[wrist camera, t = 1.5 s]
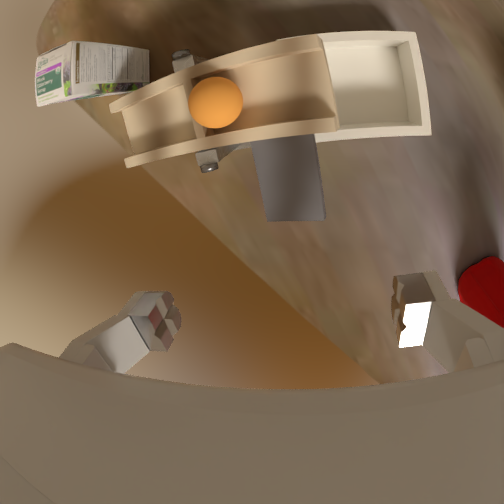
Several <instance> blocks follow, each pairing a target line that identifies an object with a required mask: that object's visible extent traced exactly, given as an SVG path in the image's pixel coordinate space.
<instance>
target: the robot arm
mask: <svg viewBox="0 0 504 504" xmlns="http://www.w3.org/2000/svg"><path fill="white" fill-rule="evenodd" d="M393 289H394V295H393V296H392V299H391V314H392V320H393V324H395V325H396V326H397V327H396V336H397V341H398V345H399V347H407V346H415V345H422V346H423V347H424V348H425V349H426V350H427V351H428V352H429V353H430V354H431V355H432V356H433V357H434V358H435V359H436V360H437V361H438V362H439V363H440V364H441V365H442V366H443V367H444V368H445V369H446V370H447V371H448V372H449V373H448V374H443V375H438V376H433V377H427V378H422V379H416V380H409V381H403V382H395V383H388V384H379V385H371V386H359V387H346V388H330V389H299V390H298V389H295V390H293V389H292V390H291V389H289V390H285V389H284V390H283V389H281V390H280V389H246V388H228V387H215V386H204V385H195V384H186V383H178V382H171V381H164V380H157V379H151V378H144V377H139V376H133V375H128V374H124V373H125V372H126V371H128V370H129V369H130V368H131V367H132V366H133V365H134V364H136V363H137V362H138V361H139V360H140V359H141V358H143V357H144V356H145V355H146V354H147V353H149V351H165V352H167V351H168V349H169V347H170V346H171V344H172V342H173V340H174V339H173V335H174V334H175V333H177V332H178V330H179V329H180V327H181V314H180V312H179V309H178V308H177V307H175V306H174V305H173V302H174V298H173V296H172V294H171V293H170V292H168V291H140V292H135V293H134V295H133V296H132V297H131V298H130V300H129V301H128V302H127V303H126V305H125V306H124V307H123V308H122V310H121V311H120V312H119V314H118V315H117V316H116V315H114V316H112V317H111V318H109V319H108V320H106V321H104V322H102V323H101V324H99V325H97V326H96V327H94V328H92V329H91V330H89V331H87V332H85V333H84V334H82V335H80V336H79V337H77V338H76V339H74V340H72V341H71V343H70V344H69V345H68V346H67V348H66V349H65V350H64V352H63V353H62V354H61V356H60V357H59V358H58V357H54V356H51V355H48V354H44V353H42V352H39V351H35V350H32V349H30V348H27V347H23V346H21V345H19V344H16V343H9V344H7V345H5V346H3V347H0V504H504V328H502V327H500V326H499V325H497V324H496V323H494V322H493V321H491V320H489V319H488V318H486V317H485V316H483V315H481V314H480V313H478V312H476V311H475V310H473V309H472V308H470V307H468V306H467V305H465V304H463V303H462V302H460V301H458V300H457V299H451V298H450V296H449V294H448V292H447V290H446V288H445V286H444V285H443V283H442V281H441V279H440V277H439V276H438V274H437V272H436V271H434V270H432V271H426V272H421V273H414V274H406V275H398V276H394V278H393Z"/></svg>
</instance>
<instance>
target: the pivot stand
mask: <svg viewBox="0 0 504 504" xmlns="http://www.w3.org/2000/svg"><path fill="white" fill-rule="evenodd" d="M172 58H173V61H172V64H173V68H174V72H175V73H176V72H178V71H181V70H183V69H186V68H188V67H191V66H194V65H196V64H199V63H202V62H205V61H208V60H210V59H206V58H203V57H199V56H196V55H190V50H189V49H185V50H180V51H177V52H174V53H173V54H172ZM248 147H251V143H250V142H244V143H238V144H232V145H227V146H221V147H216V148H210V149H205V150H201V151H199V152H197V153H196V158H197V162H198V166H200V168H201V172H202V173H205V172H210V171H213V170H216V169H218V164H217V162H219V161H220V160H221V159H223V158H224V157H225V156H227V155H228V154H229V153H231V152H232V151H233V150H238V149H243V148H248Z"/></svg>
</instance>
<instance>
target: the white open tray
mask: <svg viewBox="0 0 504 504" xmlns="http://www.w3.org/2000/svg"><path fill="white" fill-rule="evenodd" d="M317 35H318V36H319V37H320V38H321V39H322V40H323V44H324V49H325V53H326V57H327V61H328V66H329V71H330V75H331V80H332V85H333V90H334V96H335V101H336V107H337V113H338V119H339V125H340V128H339V129H338V130H337V131H336V132H328V133H316V134H314V135H315V141H316V142H324V141H334V140H344V139H356V138H370V137H388V136H421V135H431V122H430V112H429V103H428V95H427V88H426V82H425V76H424V70H423V64H422V59H421V54H420V50H419V45H418V41H417V37H416V33H415V32H402V31H348V32H332V33H321V34H317ZM303 36H305V35H303ZM296 37H300V36H296ZM289 38H294V37H289ZM289 38H283V39H277V40H276V41H279V40H284V39H289Z"/></svg>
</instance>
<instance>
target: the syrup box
mask: <svg viewBox="0 0 504 504" xmlns="http://www.w3.org/2000/svg"><path fill="white" fill-rule="evenodd" d="M148 84H150V79H149V50H147V49H142V48H136V47H130V46H123V45H115V44H107V43H98V42H87V41H70V42H68V43H66V44H64V45H61V46H58V47H56V48H53V49H51V50H49V51H47V52H46V53H44V54H42V55H40V56H38V57H37V62H36V71H35V94H36V101H37V106H44V105H48V104H53V103H58V102H64V101H71V100H78V99H85V98H93V97H101V96H108V95H116V94H124V93H130V92H134V91H136V90H138V89H140V88H142V87H144V86H146V85H148Z"/></svg>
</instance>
